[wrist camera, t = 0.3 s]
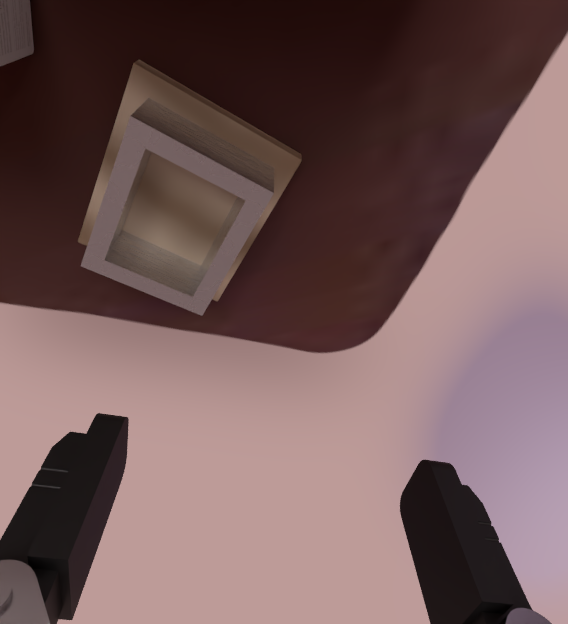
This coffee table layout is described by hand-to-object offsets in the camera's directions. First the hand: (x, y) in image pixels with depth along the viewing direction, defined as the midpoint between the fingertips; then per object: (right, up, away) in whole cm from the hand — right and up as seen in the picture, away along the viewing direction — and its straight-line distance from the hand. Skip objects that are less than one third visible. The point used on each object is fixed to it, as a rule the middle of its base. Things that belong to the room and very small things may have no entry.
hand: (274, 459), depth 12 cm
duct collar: (-7, +11, +18) cm, 22 cm away
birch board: (-7, +12, +18) cm, 23 cm away
